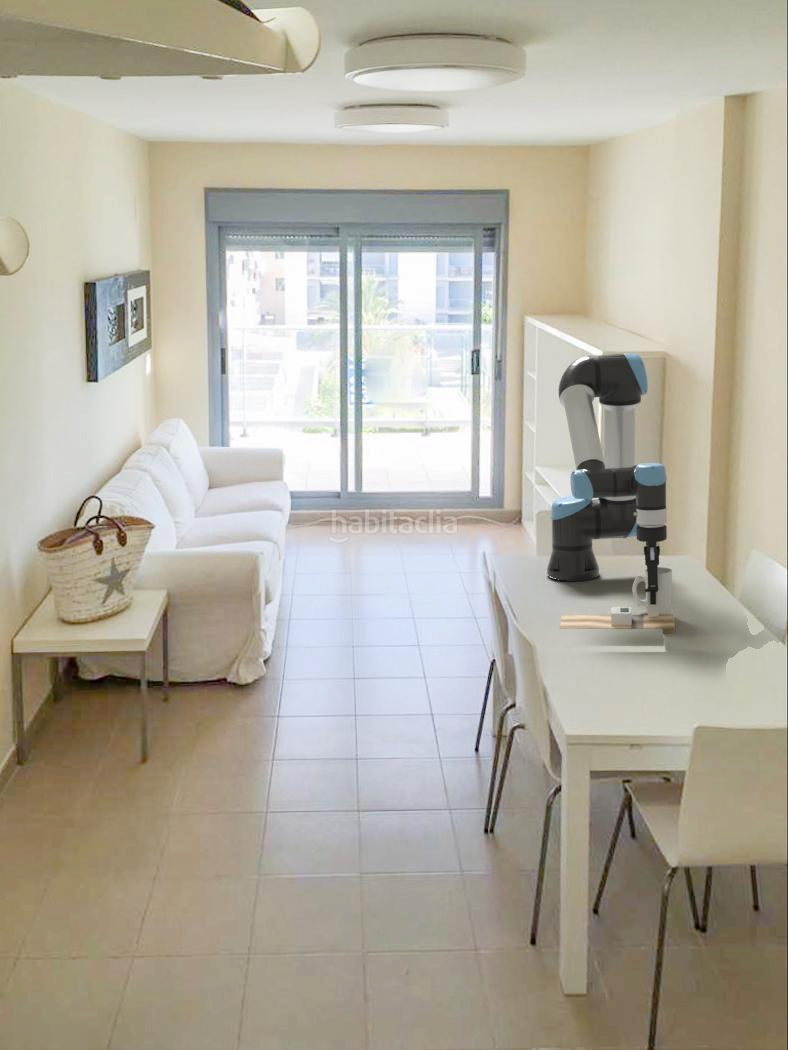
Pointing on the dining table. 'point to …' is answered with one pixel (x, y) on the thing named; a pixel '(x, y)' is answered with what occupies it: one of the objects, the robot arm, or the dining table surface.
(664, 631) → the board
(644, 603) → the mug
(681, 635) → the dining table surface
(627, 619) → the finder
